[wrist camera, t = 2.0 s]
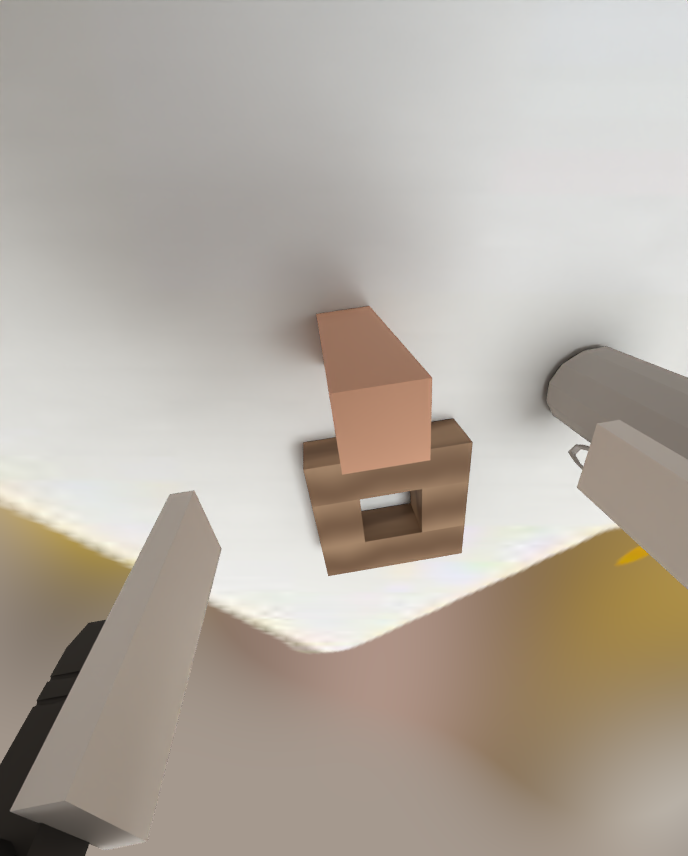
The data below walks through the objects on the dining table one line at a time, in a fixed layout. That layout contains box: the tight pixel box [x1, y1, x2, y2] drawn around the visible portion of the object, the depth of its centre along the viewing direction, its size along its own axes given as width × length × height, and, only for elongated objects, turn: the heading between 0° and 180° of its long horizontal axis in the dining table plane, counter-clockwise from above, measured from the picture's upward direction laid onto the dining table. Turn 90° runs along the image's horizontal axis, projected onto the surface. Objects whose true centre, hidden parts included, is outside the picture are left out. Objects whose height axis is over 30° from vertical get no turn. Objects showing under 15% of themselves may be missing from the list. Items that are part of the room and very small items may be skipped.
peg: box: [316, 306, 432, 475], centre depth 20 cm, size 4×4×14 cm
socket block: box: [303, 419, 473, 576], centre depth 32 cm, size 14×14×4 cm
